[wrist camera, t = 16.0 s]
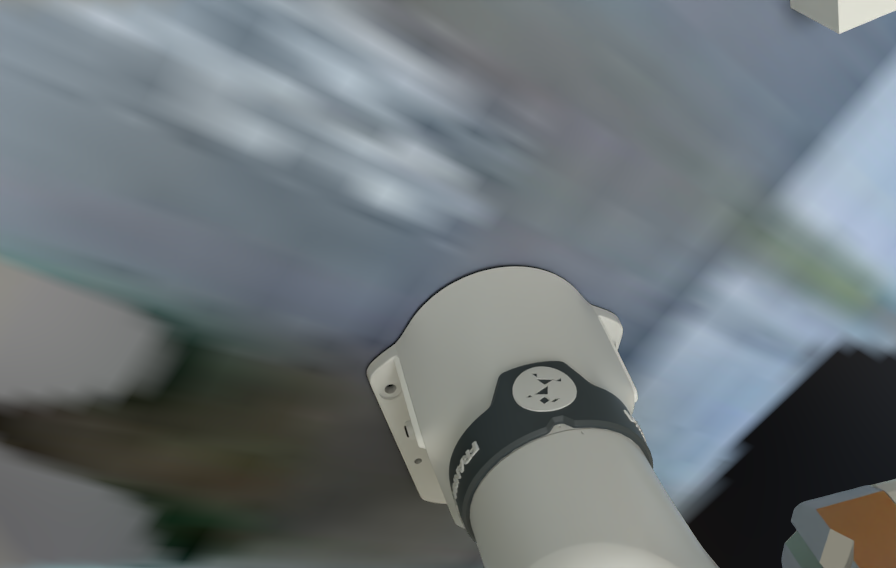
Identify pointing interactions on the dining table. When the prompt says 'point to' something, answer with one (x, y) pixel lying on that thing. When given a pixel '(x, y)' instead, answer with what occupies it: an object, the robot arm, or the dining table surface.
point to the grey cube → (843, 11)
